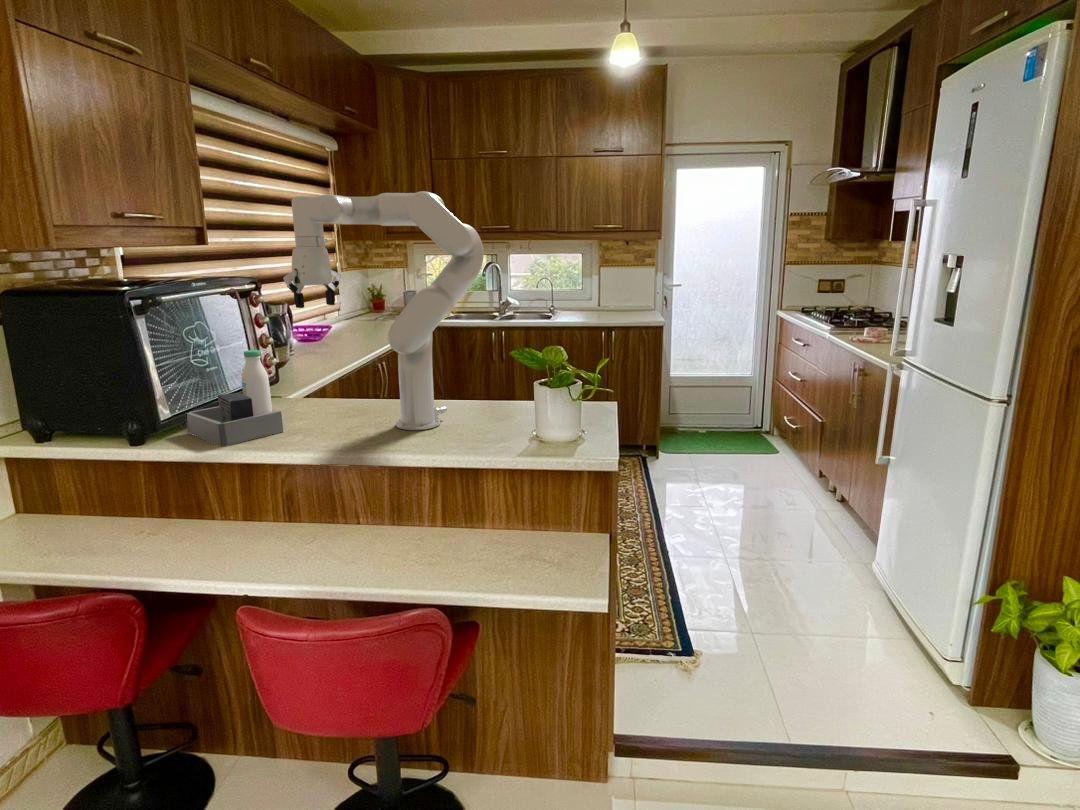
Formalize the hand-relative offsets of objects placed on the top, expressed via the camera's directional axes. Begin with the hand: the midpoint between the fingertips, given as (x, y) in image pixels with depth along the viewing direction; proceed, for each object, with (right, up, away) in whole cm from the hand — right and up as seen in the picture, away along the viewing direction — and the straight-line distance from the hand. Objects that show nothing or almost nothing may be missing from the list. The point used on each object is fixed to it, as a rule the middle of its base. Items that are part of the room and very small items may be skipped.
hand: (315, 306), depth 186 cm
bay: (-22, -35, +1) cm, 42 cm away
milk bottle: (-24, -31, +20) cm, 44 cm away
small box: (-22, -36, +1) cm, 42 cm away
